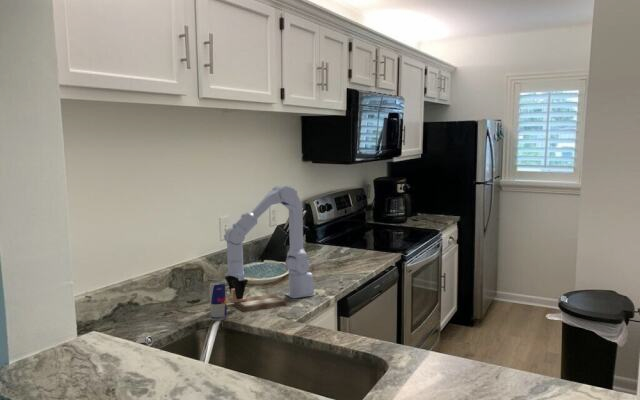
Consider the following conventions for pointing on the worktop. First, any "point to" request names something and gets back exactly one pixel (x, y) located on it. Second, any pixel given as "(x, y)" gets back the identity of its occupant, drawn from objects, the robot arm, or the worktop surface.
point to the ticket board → (260, 302)
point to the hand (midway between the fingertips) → (236, 296)
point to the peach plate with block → (233, 297)
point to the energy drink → (218, 301)
